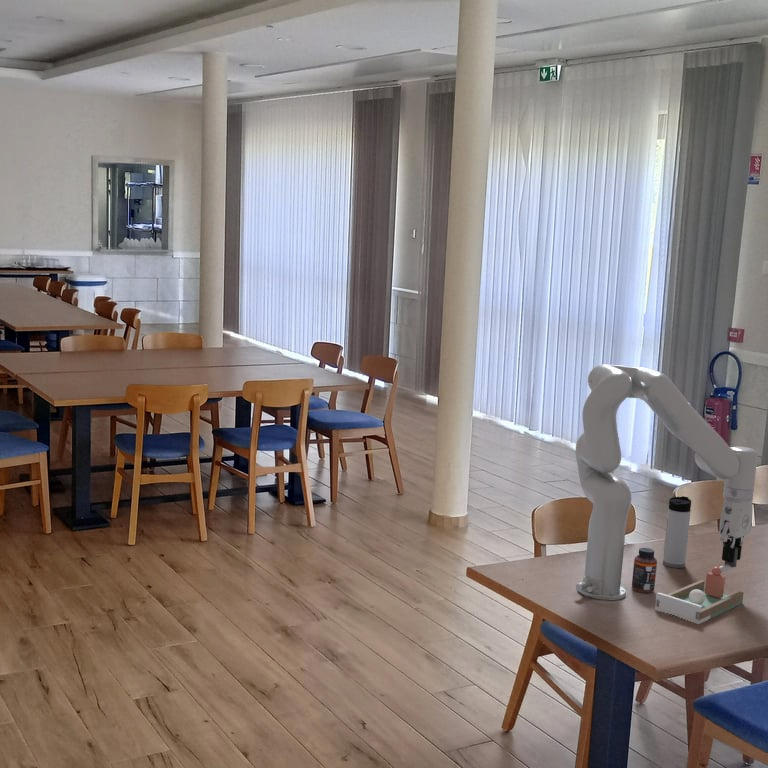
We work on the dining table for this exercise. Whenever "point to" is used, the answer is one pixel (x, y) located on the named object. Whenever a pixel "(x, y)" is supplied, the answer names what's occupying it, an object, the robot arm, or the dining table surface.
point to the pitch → (683, 608)
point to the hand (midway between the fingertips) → (731, 559)
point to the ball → (697, 596)
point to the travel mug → (677, 532)
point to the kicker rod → (718, 578)
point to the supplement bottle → (644, 571)
